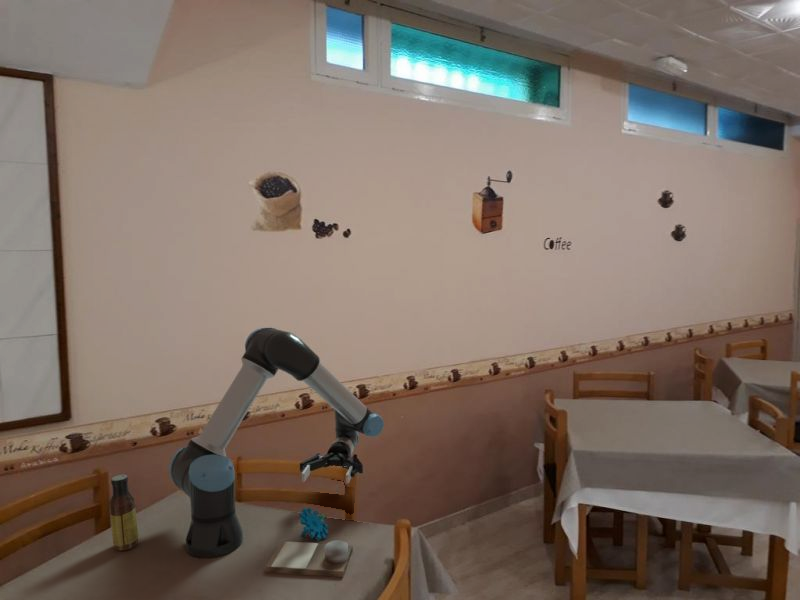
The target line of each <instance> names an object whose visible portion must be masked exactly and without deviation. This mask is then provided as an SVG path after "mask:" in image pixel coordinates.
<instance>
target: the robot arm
mask: <svg viewBox="0 0 800 600" xmlns="http://www.w3.org/2000/svg"><path fill="white" fill-rule="evenodd" d="M244 348H245V350H244V351H245V352H244V353H243V355H242V356H241V358H240V359H241V363H242V366H241V368H240V370H239V371H238V373H237V374H236V376H235V377H234V380H232V382H231V384H230V386H229V387H228V389H227V390H226V392H225V394H224V395H223V396H222V398H221V400H220V402H219V404H218V405H217V406H216V408H215V409H214V411H213V413H212V414H211V416H210V417H209V419H208V421H207V423H206V424H205V425H204V427H203V429H202V431H201V432H200V434H199V435H197V436H195V437H192V438H191V439H190V440H189V441H188V443H187V445H185V446H184V447H181V448H180V449H178V450H177V451H176V452H175V453H174V454H173V456H172V457H171V459H170V462H169V466H168V471H169V476H170V479H171V480H172V481H173V483H174V485H175V486H176V487H177V488H179V489H180V490H181V491H182V492H183V493H184V494H186V495H187V496H188V497H189V499H190V513H191V516H190V517H191V518H190V519H191V520H190V524H189V526H188V530H187V533H186V537H185V550H186V552H187V554H189V556H190V555H191V556H192V557H196V558H205V559H207V558H215V557H221V556H223V555H226V554H229V553H231V552H233V551H235V550H236V549H238V548H239V547H240V546H241V544H242V543H243V541H244V535H243V534H244V531H243V529H242V528H243V527H242V525H241V523H240V521H239V518H238V515H237V514H236V513H237V512H236V488H235V487H236V486H235V485H236V484H235V481H236V480H235V477H236V473H235V469H234V468H235V467H234V464H233V461H232V460H231V459H230V458H229V457H227V453H226V448H227V446H228V444H229V443H230V441H231V440H232V438H233V436H234V435H235V433H236V432H237V430H238V428H239V426H240V425H241V423H242V421H243V420H244V418H245V416H246V415H247V413H248V411H249V409H250V408H251V406H252V405H253V403H254V401H255V400H256V398H257V396H258V395H259V394H260V392H261V390H262V388H263V386H264V384H265V383H266V381H267V380H269V379H272V378H274V377H275V376H276V374H277V372H278V370H280V371H282V372H285V373H286V374H289V375H290V376H292V377H293V378H294V379H295V380H296V381H298V382H304V384H306V385H307V386H308V387H309V388H310V389H311V390H313V392H314V393H316V394H317V395H318V396H319V397H321V398H322V399H323V400H324V401H325V402H326V403H327V404H328V405H329V406H330V407H331V408H332V409H334V421H335V425H334V426H335V427H334V428H335V439H334V441H333V442H332V444H331V445H330V447H329V449H328V450H327V451H326V452H327V453H326V454H324V455H321V453H316V454H315V455H313V456H312V457H309V458H307V459H305V460H303V461H301V462H299V472H301V482H302V483H305V482H306V480H307V479H308V477H309V476H310V474H311V472H312V471H315V470H318V469H321V468H325V469H326V468H328V467H333V466H334V465H335V466H334V467H337V466H340V467H341V466H342V467H341V468H342V469H346V470H347V472H346V474H345V484H349V483H350V481H351V479H352V478H354V477H355V476H356V475H357V474H358V473H359V474H363V473H364V470H363V469H364V466H363V463H362V462H361V461H360V459H359V458H358V454H356V453H355V454H353V453H354V450H355V449H356V447H357V446H358V444H359V439H360V435H359V434H362V435H364V436H366V437H369V438H370V437H371V438H376V437H378V436H380V435H381V433H382V432H383V430H384V427H385V421H384V419H383V417H382V416H381V415H379V414H378V413H374V412H373V411H371V410H370V409H369V408H368V407H367V406H366V405H365V404H364V403H363V402H362V401H360V399H359V398H357V397H356V396H355V394H353V393H352V391H350V390H349V389H348V388H347V387H346V386H345V384H343V383H342V382H341V381H340V380H339V379H338V378H337V377H336V376H335V375H334V374H332V373H331V371H329V370H328V368H326V367H325V366H324V365H323V364H322V363H321V359H320V357H319V355H317V353H315V352H314V350H312V349H311V348H310V346H309V345H307V344H306V343H305V342H304V341H303V340H302V339H301V338H299V337H298V336H297V335H296V334H294V333H292V332H291V331H285V330H281V329H276V328H275V327H259V328H257V329H255V330H254V331H252V332H251V333H249V335H248V337H247V338H246V340H245V342H244ZM344 466H347V467H344Z"/></svg>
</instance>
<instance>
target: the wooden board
mask: <svg viewBox="0 0 800 600" xmlns="http://www.w3.org/2000/svg"><path fill="white" fill-rule="evenodd" d="M353 548H354V547H353V545H349V543H347V542H346V541H344V540H339V539H338V540H337V539H335V540H332V541H331V540H330V541H329V542H327V543H318V542H301V541H280V542H279V543H278V546H276V549H275V550H274V552H273V553H272V555H271V557H270V559H269V560H268V562H267V563H266V565H265V566H264V567H265V573H272V574H286V575H287V574H288V575H301V576H302V575H305V576H320V577H335V578H344V576H345V573H346V570H347V567H348V565H349V562H350V559H351V556H352V555H353V551H354V550H353Z"/></svg>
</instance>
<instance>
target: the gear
mask: <svg viewBox="0 0 800 600" xmlns="http://www.w3.org/2000/svg"><path fill="white" fill-rule="evenodd" d="M301 511H302V512H301V513H300V514H299V517H300V518H301V519H300V520H299V522H300V525H303V526H304V527H303V531H301V533H300V534H301V535H302V536H303V535H304V536H305V535H307V533H308V532H309V531H311V532H310V533H309V534H308V536H309V537H310V538H312V539H313V538H314V537H315V540H317V541H320V540H321V539H322V540H324V538H325V539H326V538H327V535H328V533H329V530H328V529H327V528H328V523H327V522H324V520H325V517H326V516H325V514H324V513H321V514H320V515H319V511H318V510H317V509H316V510H314V511H313V508H311V507H308V508H306V507H305V508H303V509H302V510H301ZM312 511H313V513H312ZM318 515H319V516H318ZM315 535H316V536H315Z"/></svg>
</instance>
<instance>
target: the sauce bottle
mask: <svg viewBox="0 0 800 600" xmlns="http://www.w3.org/2000/svg"><path fill="white" fill-rule="evenodd" d="M110 481H111V483H110V484H111V485H112V496H111V498H110V500H109V502H108V503H109V511H110V512H109V515H110V526H111V536H112V537H111V538H112V544H113V547H114V549H115V550H116V551H118V552H119V551H120V552H121V551H129V550H131V549H133V548H135V547H136V546H137V545H138V544H139V531H138V523H137V522H138V521H137V514H136V513H137V512H136V505H135V499H134V497H133V495H132V494H131V493H130V491H129V485H128V484H129V483H128V481H129V478H128V475H127V474H117V475H115V476H113V477H111V479H110Z"/></svg>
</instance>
